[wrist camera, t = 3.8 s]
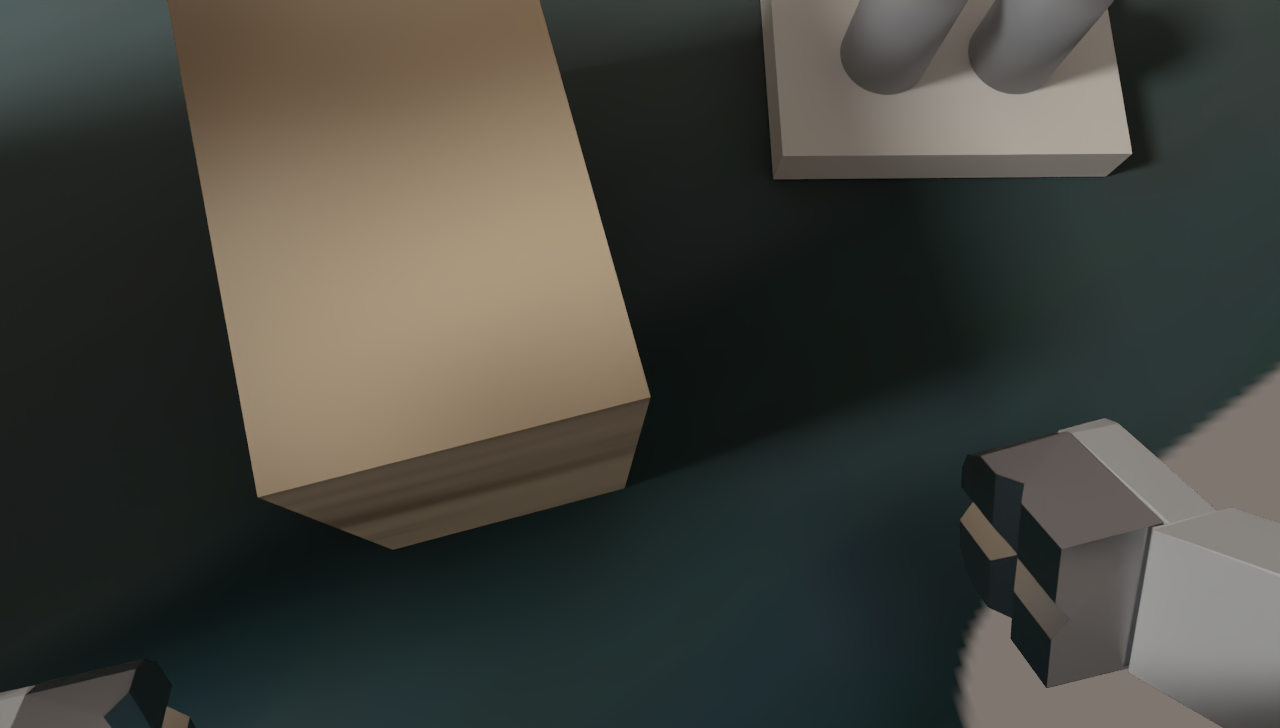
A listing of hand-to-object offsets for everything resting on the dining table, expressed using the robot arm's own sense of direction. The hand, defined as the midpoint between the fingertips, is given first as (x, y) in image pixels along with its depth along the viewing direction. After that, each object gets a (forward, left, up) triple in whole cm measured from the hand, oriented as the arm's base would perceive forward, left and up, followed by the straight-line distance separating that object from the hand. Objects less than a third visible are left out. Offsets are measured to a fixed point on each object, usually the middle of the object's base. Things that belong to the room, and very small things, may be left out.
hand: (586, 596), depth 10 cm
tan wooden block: (+7, -1, -11) cm, 13 cm away
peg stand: (+10, -15, -11) cm, 21 cm away
